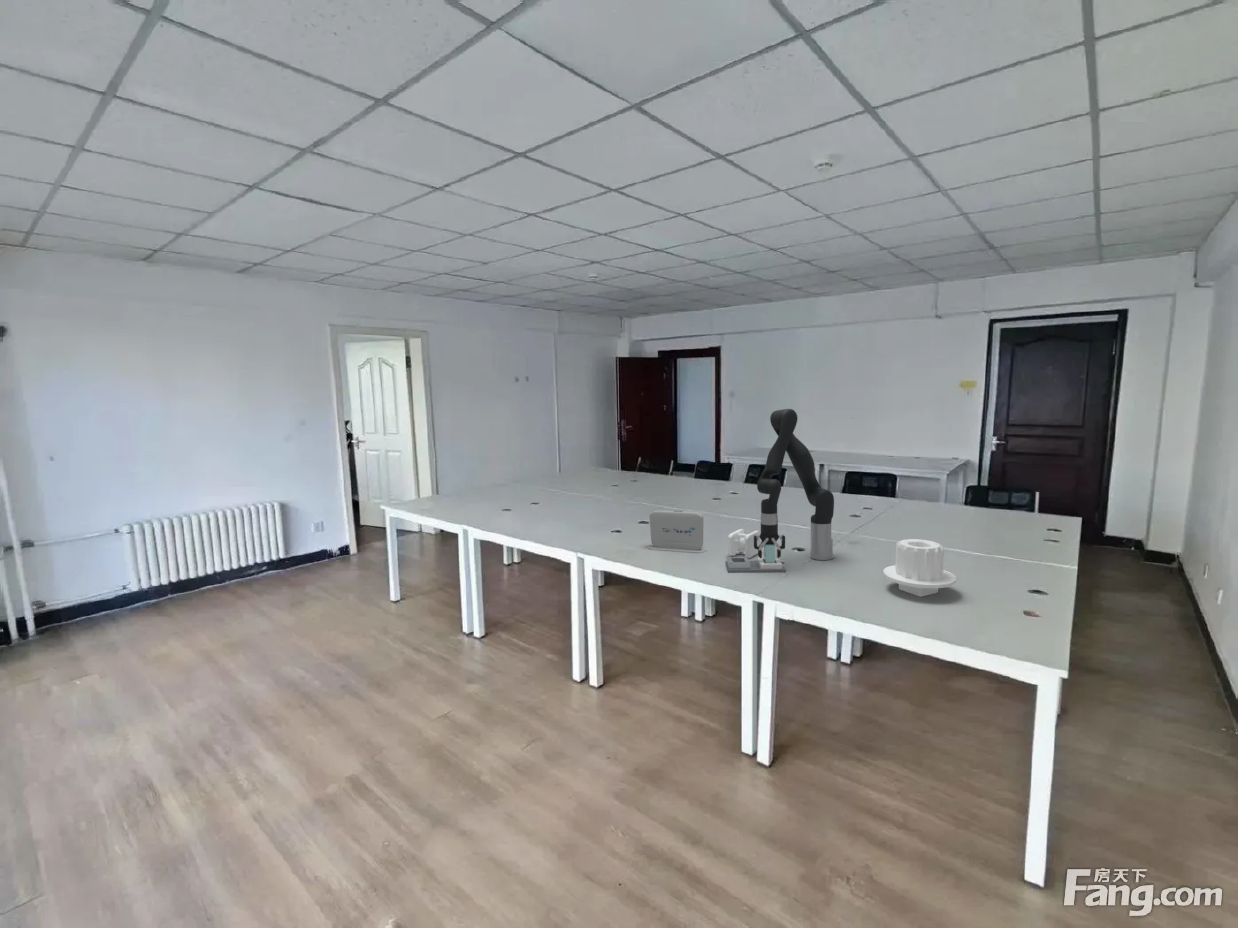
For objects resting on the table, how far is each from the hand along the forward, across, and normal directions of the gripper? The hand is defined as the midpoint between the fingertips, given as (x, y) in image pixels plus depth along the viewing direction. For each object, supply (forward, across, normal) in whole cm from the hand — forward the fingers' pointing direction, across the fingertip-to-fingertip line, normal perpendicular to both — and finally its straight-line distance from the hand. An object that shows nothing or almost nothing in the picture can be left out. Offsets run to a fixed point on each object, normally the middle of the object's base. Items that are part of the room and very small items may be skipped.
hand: (769, 557), depth 257 cm
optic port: (+4, +14, 0) cm, 15 cm away
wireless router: (+5, +42, -32) cm, 53 cm away
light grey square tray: (+4, 0, 0) cm, 4 cm away
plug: (+3, 0, 0) cm, 3 cm away
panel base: (+4, +7, 0) cm, 8 cm away
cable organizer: (+5, +9, -20) cm, 22 cm away
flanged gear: (+5, -52, +31) cm, 61 cm away
